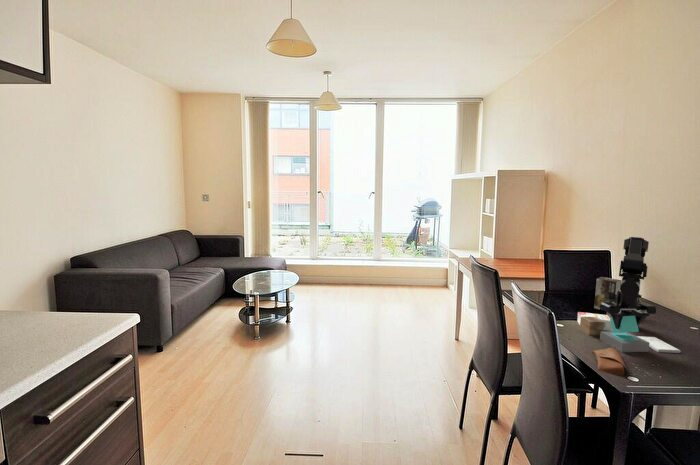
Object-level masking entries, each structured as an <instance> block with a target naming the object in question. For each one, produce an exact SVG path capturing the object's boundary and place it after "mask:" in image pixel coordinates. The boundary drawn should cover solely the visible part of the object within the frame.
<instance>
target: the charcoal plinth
mask: <svg viewBox="0 0 700 465" xmlns="http://www.w3.org/2000/svg"><path fill="white" fill-rule="evenodd" d="M599 341H601V342H602V343H604V344H606V345H608V346H610V348H611V347H613V346H614V347H616V349H617V350H618V352H619V353H620V352H621V353H640V352H641V353H642V352H643V353H645V352H646V353H647V352H649V349H650V347H649V344H650V343H649V342H647V341H645V340H643V339H641V338H639V337H637V335H635V334H633V333H632V332H618V333H613V331H603V332H601V333H600V335H599Z"/></svg>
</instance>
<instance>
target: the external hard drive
mask: <svg viewBox="0 0 700 465" xmlns="http://www.w3.org/2000/svg"><path fill="white" fill-rule="evenodd" d="M636 336H637V335H636ZM637 337H639V338H641V339H643V340H645V341H647V342H649V343H650V344H649V348H650V349H653V351H655V352H658V353H673V354H674V353H675V354H676V353H677V354H680V353H681V351H682V350H680V349H678V348H677V347H674V346H673V345H671V344H669V343H667V342H665V341H663V340H661V339H659V338H658V337H655V336H642V335H641V336H639V335H638V336H637Z"/></svg>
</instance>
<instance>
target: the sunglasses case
mask: <svg viewBox="0 0 700 465" xmlns="http://www.w3.org/2000/svg"><path fill="white" fill-rule="evenodd" d="M591 352H592V354H593V356H594V358H595V362H596V365H597V371H599V372H604V373H609V374H613V375H619V376H622V375H624V376H623V377H625V376H626V377H628V375H629V371H628V369H627V366H626V364H625V362H624V360H623V358H622V355H621V354H620V351H619V350H617V349H616V347H614V346H613V347H611V346H610V347H609V348H601V349H596V350H595V349H594V350H592V351H591Z"/></svg>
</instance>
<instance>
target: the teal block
mask: <svg viewBox="0 0 700 465" xmlns="http://www.w3.org/2000/svg"><path fill="white" fill-rule="evenodd" d="M609 317H610V316H609ZM610 321H611V325H612V329H613V333H618V332H629V333H637V332H640V331H639V327H638V326H639V325H637V322H636V318H635V316H623V318H622V321H621V324H620V327H619V329H616V328H615V325H614V321H613V318H612V316H611V317H610Z"/></svg>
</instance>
